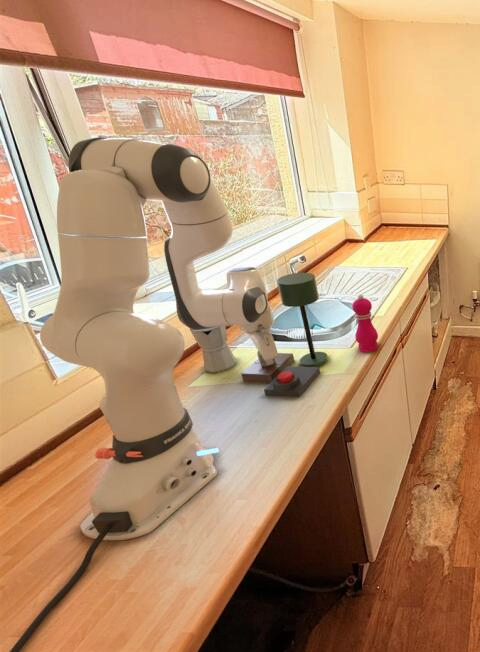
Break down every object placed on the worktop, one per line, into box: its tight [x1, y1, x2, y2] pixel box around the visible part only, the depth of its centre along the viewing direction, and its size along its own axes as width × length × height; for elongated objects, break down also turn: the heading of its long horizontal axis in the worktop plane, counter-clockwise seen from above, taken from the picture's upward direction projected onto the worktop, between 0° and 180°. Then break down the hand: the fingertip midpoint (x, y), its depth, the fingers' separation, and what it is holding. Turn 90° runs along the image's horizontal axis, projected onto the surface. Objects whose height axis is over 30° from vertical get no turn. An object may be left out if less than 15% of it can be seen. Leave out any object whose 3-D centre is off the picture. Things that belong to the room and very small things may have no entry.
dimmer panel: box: [240, 352, 295, 384], centre depth 123 cm, size 12×9×3 cm
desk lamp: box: [276, 272, 329, 368], centre depth 123 cm, size 10×10×29 cm
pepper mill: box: [351, 294, 379, 354], centre depth 134 cm, size 7×7×20 cm
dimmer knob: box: [256, 351, 275, 366], centre depth 122 cm, size 4×4×4 cm
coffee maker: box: [189, 326, 237, 374], centre depth 124 cm, size 15×9×18 cm, turn 34°
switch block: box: [263, 365, 321, 398], centre depth 117 cm, size 12×10×4 cm
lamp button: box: [278, 371, 293, 383], centre depth 113 cm, size 4×4×2 cm
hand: (267, 360), depth 122 cm, fingers open, 4 cm apart
